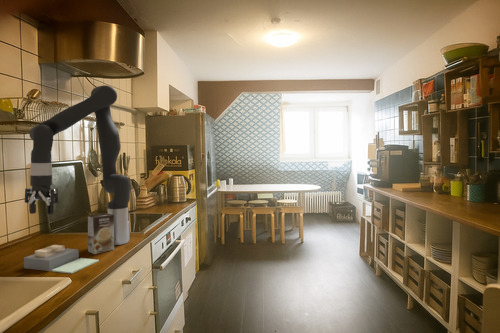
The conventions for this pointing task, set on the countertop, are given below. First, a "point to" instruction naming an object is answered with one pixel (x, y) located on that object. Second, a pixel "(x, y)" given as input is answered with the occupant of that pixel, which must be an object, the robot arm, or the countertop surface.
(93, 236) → the coffee box
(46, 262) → the grey flat block
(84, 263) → the mat
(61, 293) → the countertop surface
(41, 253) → the tile
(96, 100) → the robot arm
